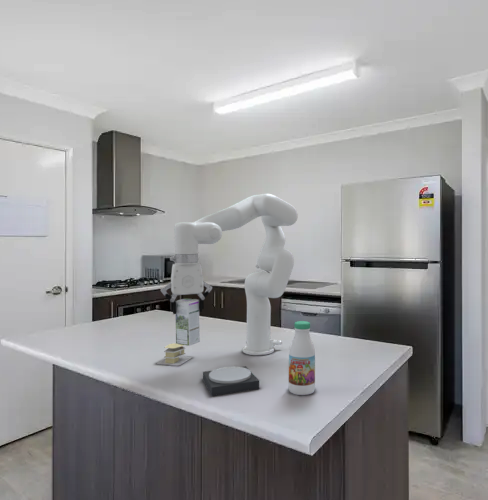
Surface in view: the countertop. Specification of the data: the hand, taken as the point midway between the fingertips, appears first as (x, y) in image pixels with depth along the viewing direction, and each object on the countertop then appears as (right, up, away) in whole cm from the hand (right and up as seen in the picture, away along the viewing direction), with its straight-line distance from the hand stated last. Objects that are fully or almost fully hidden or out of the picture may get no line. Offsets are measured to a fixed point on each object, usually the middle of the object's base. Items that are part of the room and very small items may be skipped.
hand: (187, 312), depth 122 cm
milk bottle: (+38, -21, -15) cm, 46 cm away
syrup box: (0, -11, 0) cm, 11 cm away
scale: (+16, -20, -10) cm, 28 cm away
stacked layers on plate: (-8, -20, +12) cm, 25 cm away
